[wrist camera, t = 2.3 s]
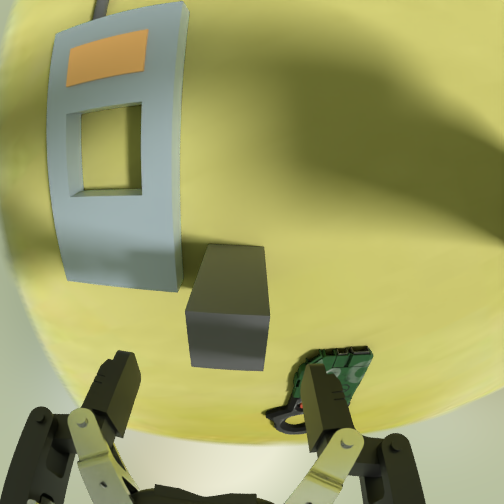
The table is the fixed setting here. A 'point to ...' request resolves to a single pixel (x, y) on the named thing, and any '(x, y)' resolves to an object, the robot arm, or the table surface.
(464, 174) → the table surface
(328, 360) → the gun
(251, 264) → the block
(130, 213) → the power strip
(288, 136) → the table surface
